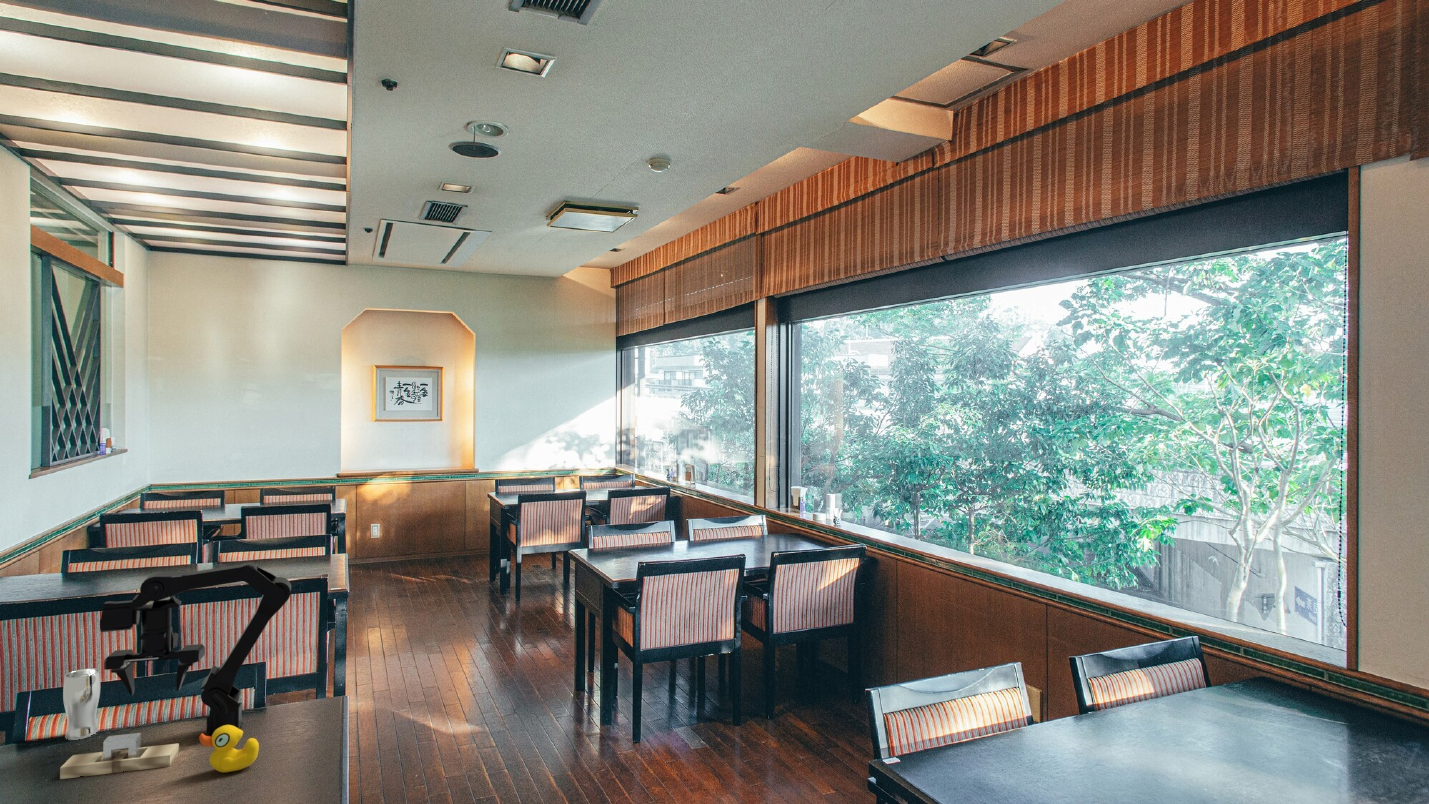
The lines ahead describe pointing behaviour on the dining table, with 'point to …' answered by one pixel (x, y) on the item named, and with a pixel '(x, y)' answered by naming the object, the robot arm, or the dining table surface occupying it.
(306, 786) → the dining table surface
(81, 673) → the beer glass
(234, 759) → the duckling
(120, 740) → the clip
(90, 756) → the rail
